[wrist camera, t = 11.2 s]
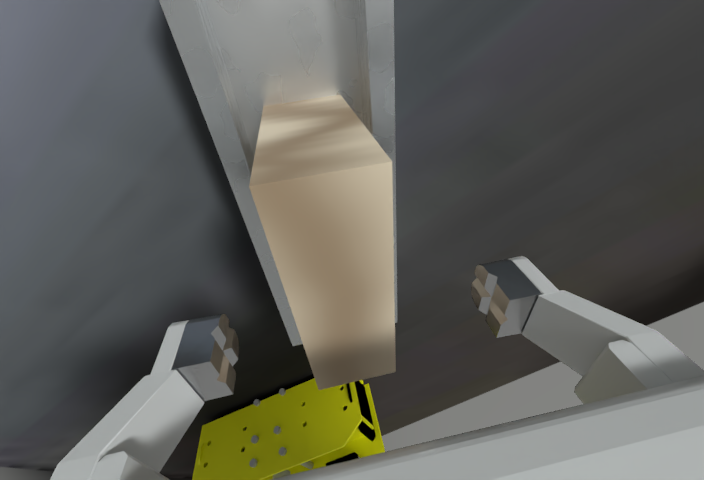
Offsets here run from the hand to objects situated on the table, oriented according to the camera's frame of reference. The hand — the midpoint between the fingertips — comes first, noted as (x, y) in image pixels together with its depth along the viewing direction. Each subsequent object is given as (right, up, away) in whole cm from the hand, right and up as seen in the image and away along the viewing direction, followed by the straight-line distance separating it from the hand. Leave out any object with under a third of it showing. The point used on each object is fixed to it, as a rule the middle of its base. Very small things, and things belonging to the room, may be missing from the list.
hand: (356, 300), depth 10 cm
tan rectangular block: (-2, +4, +7) cm, 8 cm away
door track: (-2, +5, +7) cm, 9 cm away
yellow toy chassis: (-7, -14, +21) cm, 26 cm away
